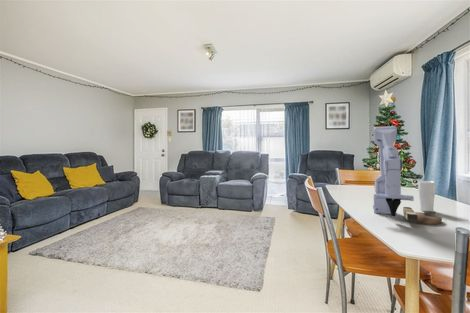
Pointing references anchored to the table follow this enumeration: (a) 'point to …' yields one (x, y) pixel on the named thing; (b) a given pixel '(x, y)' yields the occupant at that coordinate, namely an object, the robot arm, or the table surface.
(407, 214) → the folding leg
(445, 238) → the table surface
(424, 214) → the stool seat
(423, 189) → the drinking glass
